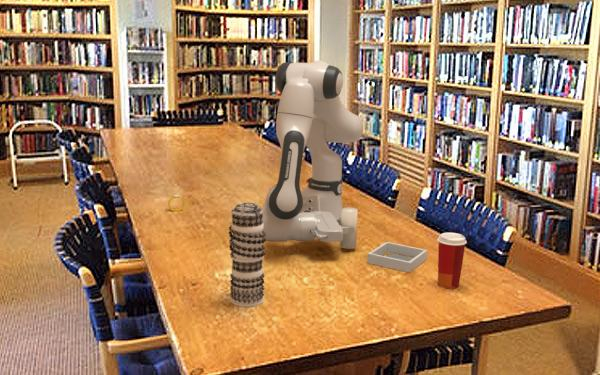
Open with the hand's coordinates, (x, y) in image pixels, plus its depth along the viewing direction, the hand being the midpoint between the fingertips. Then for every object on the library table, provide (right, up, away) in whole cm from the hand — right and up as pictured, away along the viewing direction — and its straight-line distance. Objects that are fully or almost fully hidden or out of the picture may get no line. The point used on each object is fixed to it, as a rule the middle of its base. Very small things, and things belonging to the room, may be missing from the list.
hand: (351, 225), depth 196 cm
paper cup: (+25, -15, -24) cm, 38 cm away
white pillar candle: (-1, -6, +1) cm, 7 cm away
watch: (-63, +3, +42) cm, 76 cm away
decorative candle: (-30, -17, -37) cm, 51 cm away
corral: (+13, -10, -7) cm, 18 cm away
